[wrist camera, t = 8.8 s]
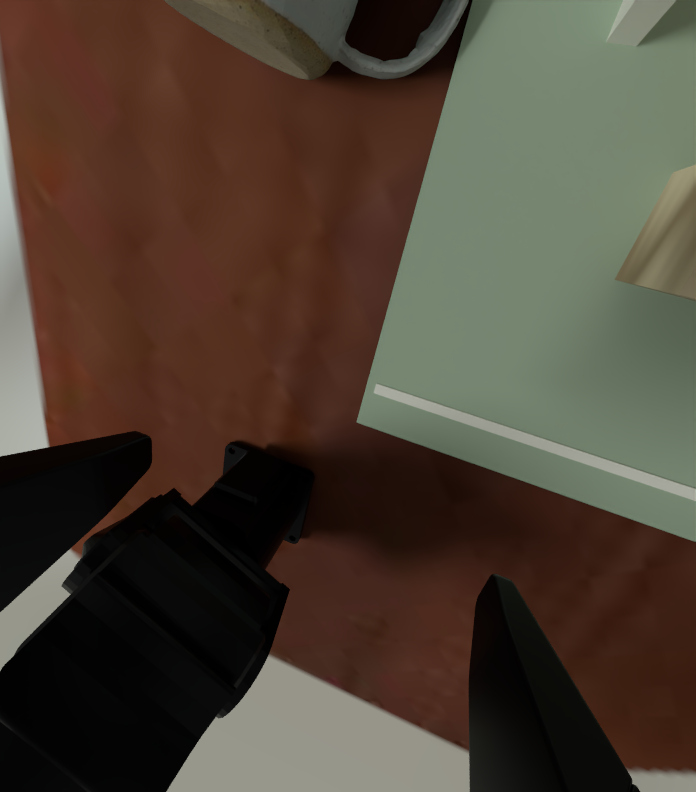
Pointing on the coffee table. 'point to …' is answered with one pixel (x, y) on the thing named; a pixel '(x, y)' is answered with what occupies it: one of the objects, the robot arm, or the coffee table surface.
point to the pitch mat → (550, 264)
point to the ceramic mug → (311, 34)
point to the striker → (667, 242)
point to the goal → (637, 20)
